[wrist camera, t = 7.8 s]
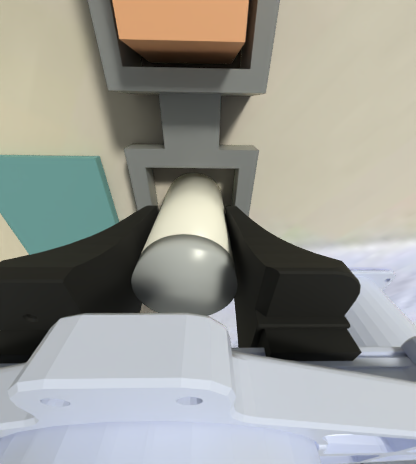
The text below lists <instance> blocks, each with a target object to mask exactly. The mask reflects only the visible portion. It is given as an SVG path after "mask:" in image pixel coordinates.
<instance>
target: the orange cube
mask: <svg viewBox="0 0 416 464" xmlns="http://www.w3.org/2000/svg"><path fill="white" fill-rule="evenodd" d="M112 1H113V7H114V12H115V18H116V24H117V29H118V35H119V39H120V40H121V41H122V42H124V43H125V44H126V45H128V46H129V47H130V48H132V49H133V50H134V51H136V52H137V53H138V54H140V55H141V56H142V57H144V58H145V59H146V60H147V61H149V62H150V63H195V64H231V63H232V62H233V60H234V59H235V57H236V56H237V54H238V52H239V51H240V49H241V48H242V46H243V45H244V43H245V38H246V27H247V16H248V5H249V0H112Z"/></svg>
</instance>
